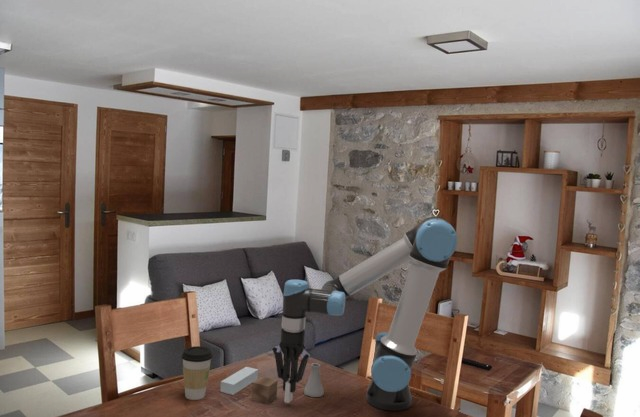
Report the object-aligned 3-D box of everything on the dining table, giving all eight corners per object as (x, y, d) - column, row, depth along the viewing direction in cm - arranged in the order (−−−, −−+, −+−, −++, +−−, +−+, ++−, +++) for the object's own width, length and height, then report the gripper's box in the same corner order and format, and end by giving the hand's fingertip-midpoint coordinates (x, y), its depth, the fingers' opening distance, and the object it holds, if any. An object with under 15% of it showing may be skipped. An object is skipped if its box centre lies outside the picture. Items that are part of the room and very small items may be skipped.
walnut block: (276, 398, 178) (277, 380, 177) (267, 404, 172) (268, 386, 172) (260, 393, 180) (261, 376, 180) (251, 400, 174) (252, 382, 174)
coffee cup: (216, 394, 177) (219, 349, 176) (197, 405, 168) (200, 358, 167) (192, 387, 181) (194, 343, 180) (173, 397, 172) (175, 351, 171)
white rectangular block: (257, 379, 192) (258, 369, 192) (233, 395, 177) (233, 384, 177) (245, 376, 194) (246, 366, 194) (220, 391, 179) (220, 381, 179)
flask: (322, 399, 179) (324, 370, 178) (301, 396, 180) (303, 367, 180) (326, 390, 186) (328, 362, 185) (305, 387, 187) (307, 359, 187)
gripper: (316, 329, 171) (311, 401, 173) (280, 322, 177) (276, 392, 178) (306, 335, 165) (301, 410, 166) (269, 328, 170) (264, 400, 172)
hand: (288, 400), depth 172 cm, fingers closed
